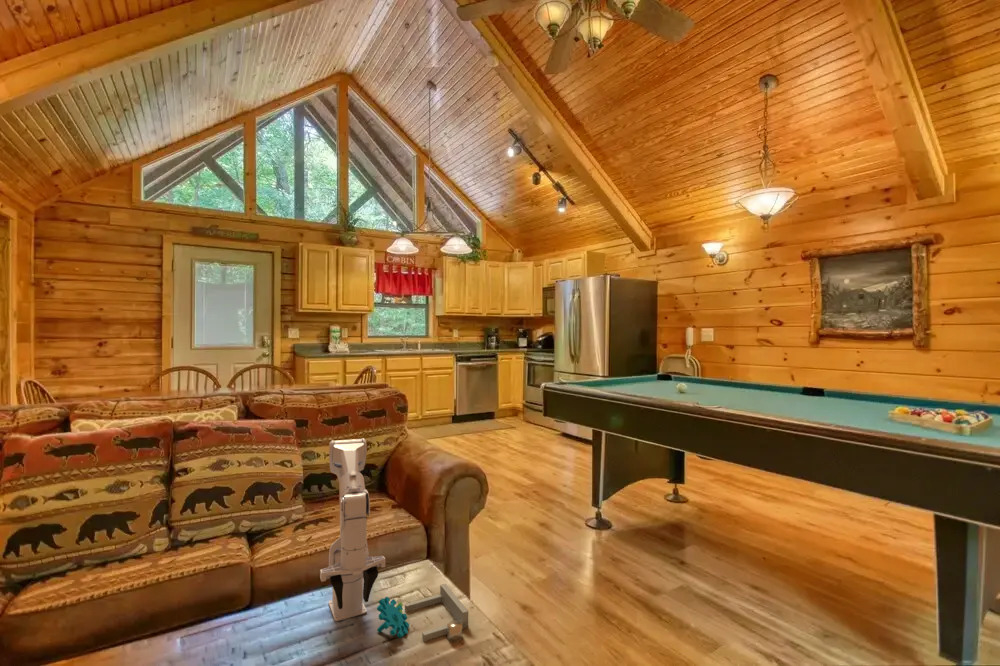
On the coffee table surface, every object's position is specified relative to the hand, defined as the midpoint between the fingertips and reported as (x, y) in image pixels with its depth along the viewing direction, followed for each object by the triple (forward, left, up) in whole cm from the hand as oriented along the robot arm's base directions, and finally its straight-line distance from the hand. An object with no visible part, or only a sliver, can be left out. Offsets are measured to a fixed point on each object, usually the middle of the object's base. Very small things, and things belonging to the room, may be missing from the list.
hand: (352, 603), depth 111 cm
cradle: (0, +21, -9) cm, 23 cm away
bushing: (+9, +22, -10) cm, 26 cm away
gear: (0, +10, -10) cm, 14 cm away
